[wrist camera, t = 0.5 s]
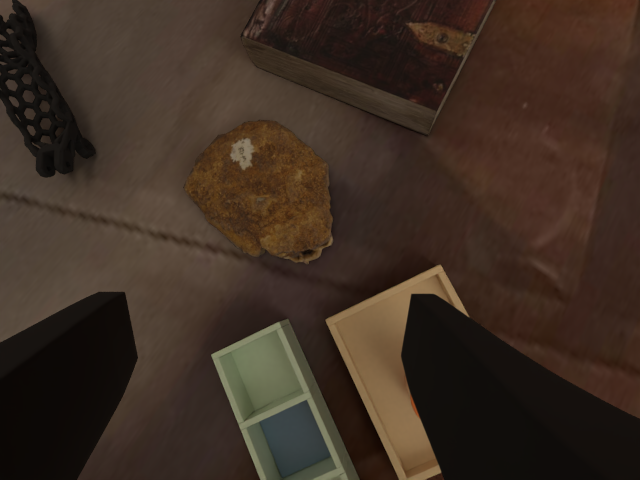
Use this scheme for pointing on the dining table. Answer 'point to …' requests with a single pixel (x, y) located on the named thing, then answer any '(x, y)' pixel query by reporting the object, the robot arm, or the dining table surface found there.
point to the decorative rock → (264, 191)
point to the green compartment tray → (282, 408)
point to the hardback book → (369, 50)
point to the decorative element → (37, 98)
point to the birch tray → (390, 367)
